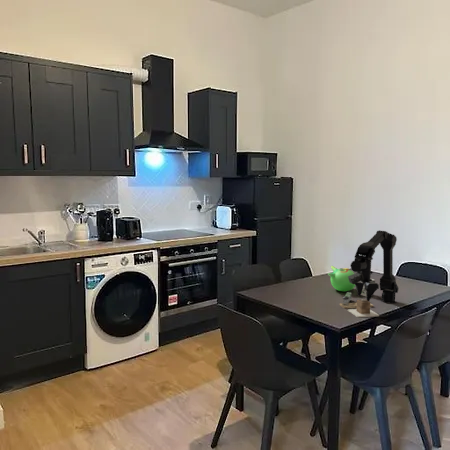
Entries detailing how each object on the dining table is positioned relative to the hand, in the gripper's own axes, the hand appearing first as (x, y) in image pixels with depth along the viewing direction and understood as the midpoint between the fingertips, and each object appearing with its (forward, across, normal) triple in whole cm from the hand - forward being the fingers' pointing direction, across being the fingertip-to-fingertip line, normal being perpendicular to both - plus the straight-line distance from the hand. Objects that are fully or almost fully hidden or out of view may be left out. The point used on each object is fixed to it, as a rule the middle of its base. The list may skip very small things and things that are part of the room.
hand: (363, 298), depth 226 cm
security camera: (+8, -31, +19) cm, 38 cm away
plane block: (+8, -12, +3) cm, 15 cm away
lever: (+7, -17, 0) cm, 19 cm away
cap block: (+8, 0, 0) cm, 8 cm away
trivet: (+8, 0, 0) cm, 8 cm away
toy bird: (+8, -43, +9) cm, 45 cm away
